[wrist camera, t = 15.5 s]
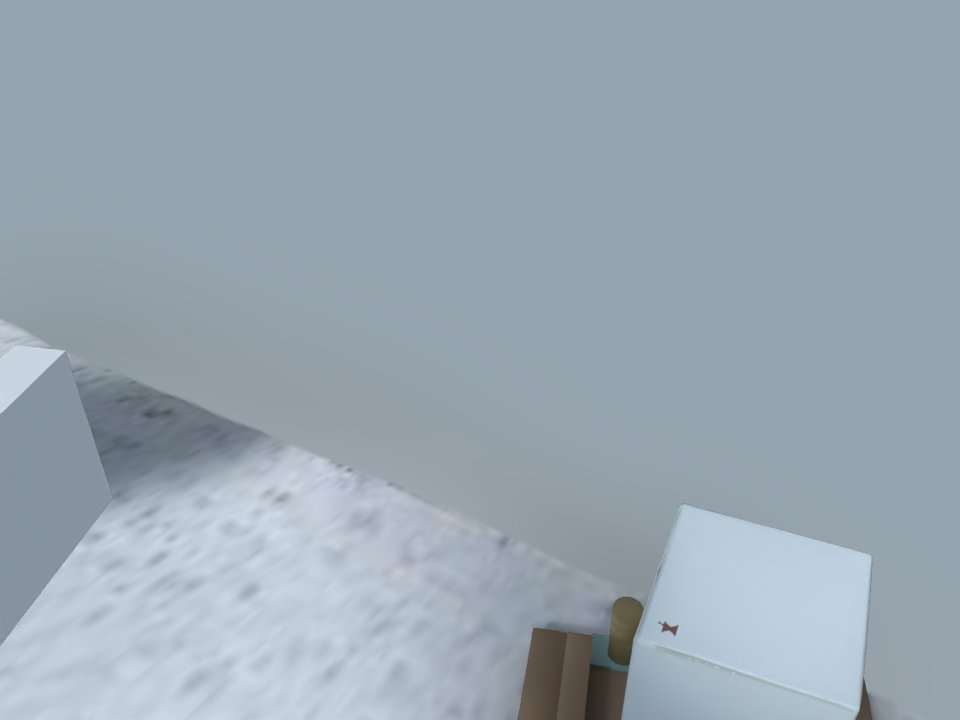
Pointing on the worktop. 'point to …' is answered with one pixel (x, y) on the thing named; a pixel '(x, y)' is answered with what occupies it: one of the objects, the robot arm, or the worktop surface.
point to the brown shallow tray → (589, 671)
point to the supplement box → (750, 626)
